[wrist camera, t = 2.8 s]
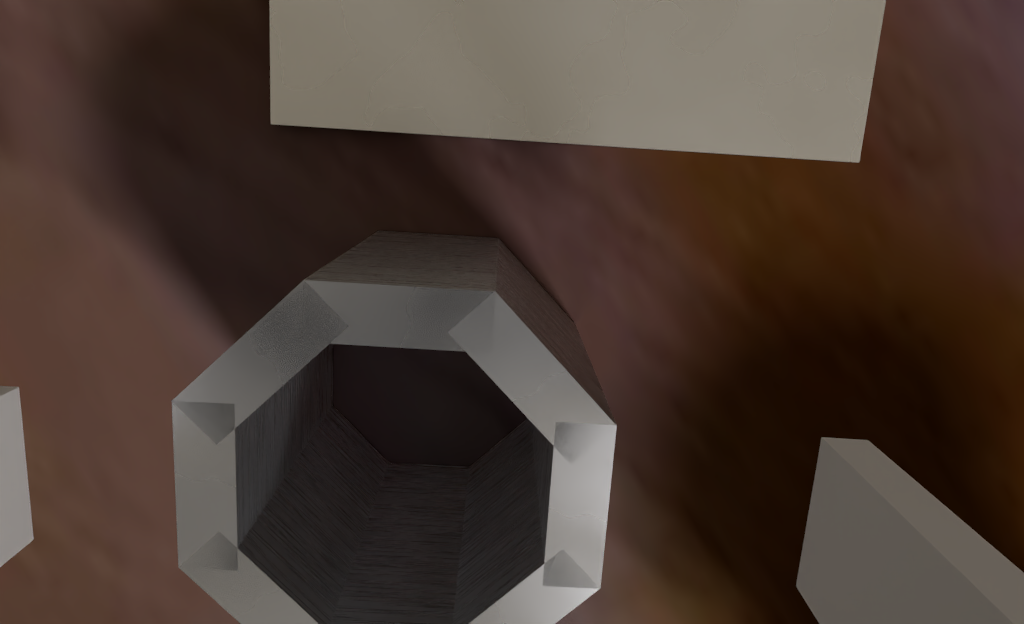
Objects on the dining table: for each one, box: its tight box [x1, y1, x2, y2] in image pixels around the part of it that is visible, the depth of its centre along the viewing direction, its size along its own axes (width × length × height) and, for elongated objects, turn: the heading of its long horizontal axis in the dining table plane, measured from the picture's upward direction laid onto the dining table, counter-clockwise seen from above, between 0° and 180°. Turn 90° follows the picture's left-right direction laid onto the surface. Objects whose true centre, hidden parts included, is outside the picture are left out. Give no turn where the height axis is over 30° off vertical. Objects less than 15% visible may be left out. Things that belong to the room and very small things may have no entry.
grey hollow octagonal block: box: [172, 231, 617, 624], centre depth 16 cm, size 7×7×7 cm
